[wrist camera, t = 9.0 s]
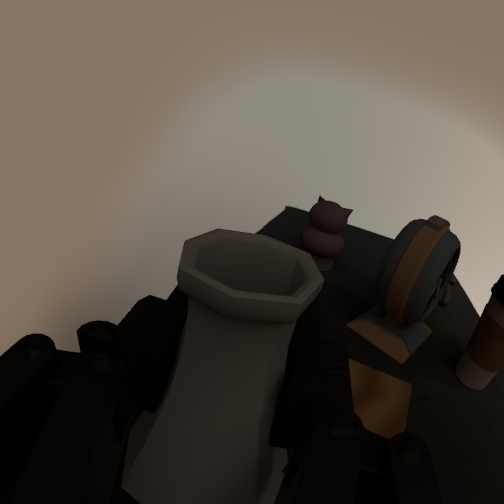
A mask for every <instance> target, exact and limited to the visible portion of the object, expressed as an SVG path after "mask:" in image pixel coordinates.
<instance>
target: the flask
mask: <svg viewBox="0 0 504 504" xmlns="http://www.w3.org/2000/svg"><path fill="white" fill-rule="evenodd" d="M177 281H178V287H179V289H180V290H181V292H183V293H185V294H186V295H188V314H187V319H186V322H185V325H184V328H183V331H182V334H181V337H180V340H179V344H178V347H177V350H176V353H175V357H174V361H173V365H172V368H171V371H170V375H169V378H168V381H167V385H166V388H165V392H164V395H163V398H162V402H161V404H160V406H159V408H158V409H157V411H156V412H155V414H154V413H152V412H149V411H146V410H143V412H142V413H141V415H140V416H139V418H138V419H137V421H136V422H135V424H134V425H133V427H132V429H131V431H130V434H129V439H128V445H127V451H126V458H125V464H124V471H123V478H122V485H121V487H122V488H123V489H124V490H125V491H126V492H128V493H129V494H130V495H131V496H132V497H133V498H134V499H136V500H137V501H138V502H139V503H140V504H274V502H275V499H276V497H277V494H278V491H279V488H280V486H281V483H282V480H283V477H284V474H285V473H282V471H283V469H284V468H285V466H286V465H287V463H288V458H287V451H286V449H285V448H280V447H274V446H270V443H269V436H270V433H271V429H272V426H273V423H274V419H275V416H276V412H277V409H278V405H279V402H280V398H281V395H282V390H283V383H284V376H285V368H286V360H287V352H288V346H289V343H290V340H291V337H292V334H293V331H294V328H295V325H296V322H297V319H298V317H299V316H300V315H301V314H302V313H303V311H304V310H305V309H306V308H307V307H308V306H309V305H310V304H311V302H312V301H313V300H314V299H315V298H316V297H317V295H318V294H319V292H320V290H321V289H322V286H323V282H324V279H323V277H322V275H321V273H320V271H319V270H318V268H317V266H316V264H315V262H314V261H313V259H312V257H311V255H310V254H309V253H307V252H305V251H302V250H300V249H297V248H295V247H293V246H290V245H288V244H285V243H283V242H281V241H278V240H276V239H273V238H271V237H268V236H266V235H259V234H252V233H245V232H238V231H231V230H224V229H215V230H213V231H210V232H207V233H204V234H202V235H199V236H196V237H194V238H191V239H188V240H185V242H184V246H183V250H182V254H181V259H180V263H179V267H178V274H177Z"/></svg>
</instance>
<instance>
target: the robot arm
mask: <svg viewBox="0 0 504 504" xmlns="http://www.w3.org/2000/svg"><path fill="white" fill-rule="evenodd" d="M187 314H188V295H186V294H185V293H183V292H181V290H180V289H179V287H178V285H177V286H176V288H175V289H174V290H173V292H172V293H171V294H170V296H169V297H168V299H167V300H164V299H161V298H158V297H155V296H151V295H149V296H147V297H145V298H143V299H141V300H139V301H138V302H137V303H136V304H135V305H134V306H133V308H132V309H131V311H129V312H128V314H127V315H126V316H125V318H123V319H122V321H121V322H120V323H119V324H118V325H116V324H113V323H111V322H108V321H99V320H98V321H92V322H88V323H86V324H84V325H82V326H81V327H80V328H79V329H78V330H77V336H78V341H79V346H80V351H81V353H77V352H69V351H63V350H57V349H56V348H55V345H54V342H53V340H52V339H51V338H49V337H48V336H46V335H43V334H30V335H26V336H25V337H23V338H21V339H20V340H19V341H18V342H16V343H15V344H14V345H13V346H12V347H10V348H9V349H8V350H7V351H6V352H5V353H4V354H3V355H1V356H0V501H1V499H2V498H3V497H4V495H5V494H6V493H7V491H8V490H9V489H10V488H11V486H12V485H13V484H14V482H15V481H16V480H17V478H18V477H19V476H20V475H21V477H20V479H19V482H18V484H17V487H16V489H15V492H14V495H13V497H12V500H11V503H10V504H108V503H109V499H110V495H111V491H112V487H113V484H114V480H115V476H116V472H117V469H118V465H119V461H120V458H121V454H122V451H123V447H124V444H125V440H126V437H127V434H128V430H129V427H130V424H131V420H132V407H133V405H134V404H135V402H136V400H137V398H138V407H139V408H141V409H144V410H146V411H149V412H152V413H154V414H155V412H156V411H157V409H158V408H159V406H160V404H161V402H162V398H163V395H164V392H165V388H166V385H167V381H168V378H169V375H170V371H171V368H172V365H173V361H174V357H175V353H176V350H177V347H178V344H179V340H180V337H181V334H182V331H183V328H184V325H185V322H186V319H187ZM294 442H295V445H294V454H293V456H292V457H291V459H290V460H289V462H288V463H287V465H286V466H285V468H284V469H283V471H282V473H285V474H284V477H283V480H282V483H281V486H280V488H279V491H278V494H277V497H276V499H275V502H274V504H443V502H442V498H441V494H440V490H439V486H438V482H437V478H436V474H435V470H434V467H433V463H432V460H431V456H430V452H429V449H428V447H427V445H426V443H425V442H424V441H423V440H422V439H421V438H420V437H419V436H417V435H415V434H413V433H409V432H401V433H397V434H396V435H395V436H393V437H392V438H391V439H389V438H386V437H384V436H381V435H378V434H376V433H373V432H371V431H369V430H367V429H366V428H365V427H364V426H363V422H362V421H361V419H360V417H359V416H358V415H357V414H356V413H355V412H354V408H353V397H352V387H351V377H350V368H349V359H348V353H347V352H346V350H345V349H344V347H343V345H342V344H341V343H337V342H332V341H328V340H323V339H320V310H319V294H318V295H317V297H316V298H315V299H314V300H313V301H312V302H311V304H310V305H309V306H308V307H307V308H306V309H305V310H304V311H303V313H302V314H301V315H300V316H299V317H298V319H297V322H296V325H295V328H294V331H293V334H292V337H291V340H290V343H289V346H288V352H287V360H286V368H285V376H284V383H283V390H282V395H281V398H280V402H279V405H278V409H277V412H276V416H275V419H274V423H273V426H272V429H271V433H270V436H269V443H270V446H274V447H280V448H285V449H291V447H292V445H293V444H294ZM21 473H22V474H21Z"/></svg>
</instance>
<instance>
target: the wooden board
mask: <svg viewBox="0 0 504 504" xmlns="http://www.w3.org/2000/svg"><path fill="white" fill-rule="evenodd" d="M348 359H349V358H348ZM349 368H350V377H351V387H352V397H353V408H354V412H355V413H356V414H357V415H358V416H359V417H360V419H361V421H362V422H363V426H364V427H365V428H366V429H367V430H369V431H371V432H373V433H376V434H378V435H381V436H384V437H386V438H389V439H391V438H392V437H393V436H395V435H396V434H397V433H401V432H404V429H405V424H406V419H407V413H408V407H409V401H410V394H411V387H412V384H410V383H407V382H405V381H402V380H400V379H397V378H395V377H392V376H390V375H387V374H385V373H383V372H380V371H378V370H375V369H373V368H370V367H368V366H366V365H363V364H361V363H358V362H356V361H354V360H351V359H349Z"/></svg>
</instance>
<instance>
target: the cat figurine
mask: <svg viewBox="0 0 504 504" xmlns="http://www.w3.org/2000/svg"><path fill="white" fill-rule="evenodd" d="M352 211H353V210H352V209H346V208H342V207H341V206H340V205H339V204H337V203H335V202H332V201H326V200H325V199H323V198H322V197H321V196H319V199H318V203H316V204H315V205H314V206H313V207H312V208H311V210H310V212H309V220H310V222H311V223H310V224H307V225H306V226H305V227H304V228H303V229H302V231H301V233H300V241H301V244H302V246H303V247H304V250H302V251H305V252H307V253H309V254H310V255H311V257H312V259H313V261H314V262H315V264H316V266H317V268H318V270H319V271H329V270H331V268H332V266H333V263H334V259H333V257H335V256H337V255H339V254H340V253H341V252H342V250H343V247H344V239H343V237H342V235H341V232H342V231H343V230H344V229H345V227H346V225H347V220H348V217H349V215H350V214H351V213H352Z"/></svg>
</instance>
